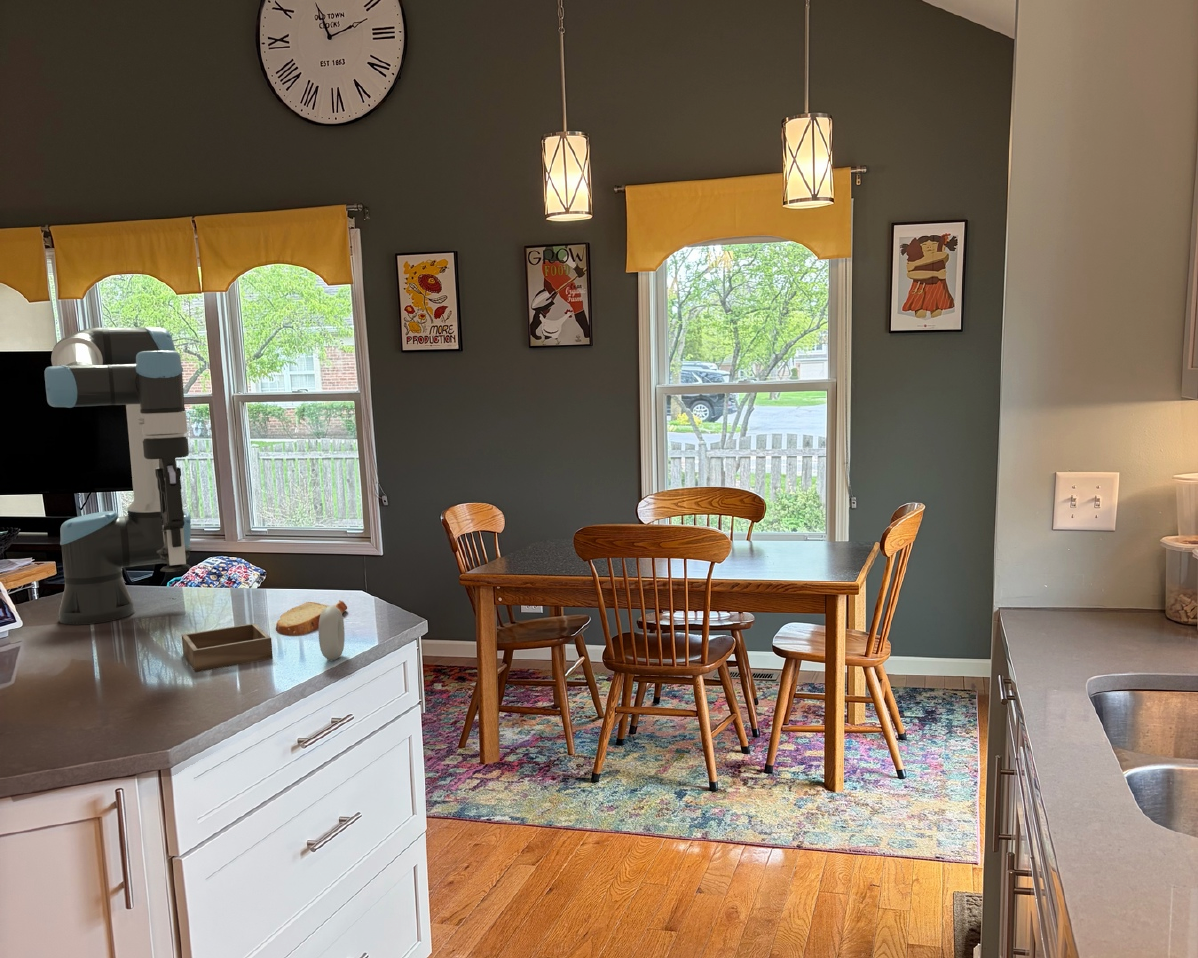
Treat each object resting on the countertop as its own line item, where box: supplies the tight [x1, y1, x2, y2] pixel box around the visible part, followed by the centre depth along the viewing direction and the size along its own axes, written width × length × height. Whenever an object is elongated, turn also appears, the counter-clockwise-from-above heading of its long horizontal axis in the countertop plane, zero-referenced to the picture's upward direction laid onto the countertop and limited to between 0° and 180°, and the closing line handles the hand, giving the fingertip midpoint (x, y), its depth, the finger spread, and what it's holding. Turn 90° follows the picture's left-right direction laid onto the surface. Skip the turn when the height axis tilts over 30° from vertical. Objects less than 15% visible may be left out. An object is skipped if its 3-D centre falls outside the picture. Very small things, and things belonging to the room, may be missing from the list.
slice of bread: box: [275, 599, 348, 637], centre depth 208 cm, size 18×18×4 cm
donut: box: [318, 605, 346, 661], centre depth 179 cm, size 10×4×10 cm, turn 5°
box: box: [181, 622, 274, 673], centre depth 183 cm, size 14×14×4 cm
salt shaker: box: [157, 511, 192, 573], centre depth 178 cm, size 6×6×12 cm
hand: (175, 561), depth 179 cm, fingers closed on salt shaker, 6 cm apart
